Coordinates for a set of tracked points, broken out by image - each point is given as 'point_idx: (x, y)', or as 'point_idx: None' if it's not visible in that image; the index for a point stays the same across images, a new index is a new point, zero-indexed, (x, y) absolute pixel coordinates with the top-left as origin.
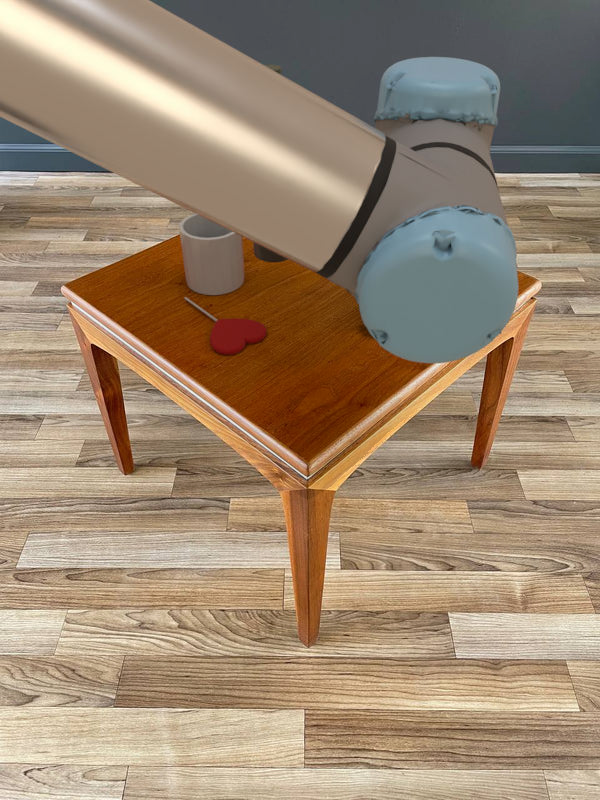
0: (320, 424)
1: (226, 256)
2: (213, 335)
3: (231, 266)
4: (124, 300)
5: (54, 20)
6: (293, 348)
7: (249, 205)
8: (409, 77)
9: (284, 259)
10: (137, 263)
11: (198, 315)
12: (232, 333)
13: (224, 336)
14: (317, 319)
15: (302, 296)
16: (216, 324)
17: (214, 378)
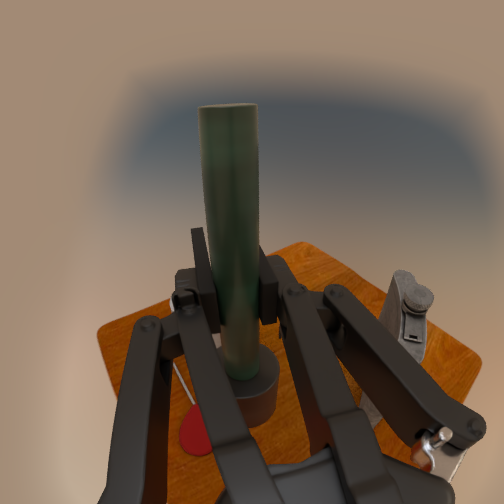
0: None
1: (213, 336)
2: (183, 427)
3: (219, 343)
4: (125, 352)
5: None
6: (268, 458)
7: None
8: None
9: (256, 426)
10: (151, 309)
11: (179, 389)
12: (204, 429)
13: (194, 431)
14: (302, 415)
15: (291, 377)
16: (190, 411)
17: (172, 483)
